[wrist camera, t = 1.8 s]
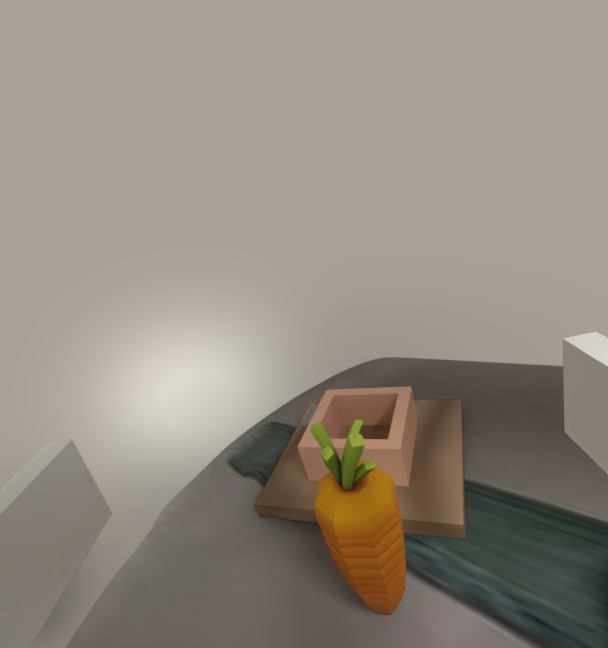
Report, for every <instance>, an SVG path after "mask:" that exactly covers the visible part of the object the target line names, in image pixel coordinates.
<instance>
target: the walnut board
mask: <svg viewBox="0 0 608 648" xmlns="http://www.w3.org/2000/svg"><path fill="white" fill-rule="evenodd" d="M414 402H415V407H416V412H417V417H418V420H417V428H416V435H415V443H414V450H413V458H412V465H411V473H410V480H409V486H395V489H396V493H397V498H398V503H399V508H400V514H401V520H402V526H403V532H404V533H413V534H422V535H431V536H440V537H448V538H457V539H466V522H465V486H464V449H463V412H462V404H461V399H443V400H414ZM319 404H320V403H310V404H309V406H308V408H307V410H306V412H305V414H304V415H303V417H302V419H301V421H300V423H299V425H298V426H297V428H296V430H295V432H294V434H293V436H292V437H291V439H290V441H289V443H288V445H287V447H286V449H285V450H284V452H283V454H282V456H281V458H280V460H279V461H278V463H277V465H276V467H275V469H274V471H273V472H272V474H271V476H270V478H269V480H268V482H267V483H266V485H265V487H264V489H263V491H262V493H261V494H260V496H259V498H258V500H257V502H256V504H255V505H256V508H257V510H258V513H259V515H260V516H262V517H271V518H280V519H289V520H298V521H307V522H315V523H318V521H317V518H316V515H315V511H314V507H315V499H316V494H317V488H318V483H319V481H315V480H308V477H307V474H306V471H305V468H304V465H303V462H302V459H301V456H300V453H299V450H298V445H299V443H300V441H301V439H302V437H303V435H304V431H303V428H302V423H303V421H304V419H305V417H306V415H307V413H308V412H309V410H310V408H311V407H318V405H319ZM351 426H352V425H342V427H341V429H340V432H339V434H338V437H337V439H347V438H348V433H349V431H350V428H351ZM390 428H391V425H362V426H361V428H360V431H359V434H361V435H362V437H363V438H364V439H388V437H389V433H390Z"/></svg>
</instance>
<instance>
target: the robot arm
mask: <svg viewBox="0 0 608 648" xmlns="http://www.w3.org/2000/svg"><path fill="white" fill-rule="evenodd" d="M563 378H564V426H565V433H566V434H567V435H568V436H569V437H570V438H571V439H572V440H573V441H574V442H575V443H576V444H577V445H578V446H579V447H580V448H581V449H582V450H583V451H584V452H585V453H587V454H588V455H589V456H590V457H591V458H592V459H593V460H594V461H595V462H596V463H597V464H598V465H599V466H600V467H601V468H602V469H603V470H604V471H605V472H606V473H607V474H608V338H607V337H605V336H603V335H601V334H599V333H597V332H592V333H587V334H582V335H577V336H572V337H567V338H563ZM111 514H112V512H111V511H110V509H109V507H108V505H107V503H106V501H105V499H104V498H103V496H102V494H101V492H100V490H99V488H98V486H97V484H96V483H95V481H94V479H93V477H92V475H91V473H90V471H89V470H88V468H87V466H86V464H85V462H84V460H83V458H82V457H81V455H80V453H79V451H78V450H77V447H76V446H75V444H74V442H73V440H72V439H70V440H65V441H60V442H56V443H51V444H47V445H46V446H45V447H44V448H43V449H42V450H41V451H40V452H39V453H38V454H37V455H36V456H35V457H34V458H33V459H32V460H31V461H30V462H29V463H28V464H27V465H25V466H24V467H23V468H22V469H21V470H20V471H19V472H18V473H17V474H16V475H15V476H14V477H13V478H12V479H11V480H10V481H9V482H8V483H7V484H6V485H5V486H4V487H3V488H2V489H1V490H0V648H30V646H31V645H32V643H33V641H34V640H35V638H36V637H37V635H38V633H39V632H40V630H41V628H42V627H43V625H44V624H45V622H46V620H47V619H48V617H49V615H50V614H51V612H52V611H53V609H54V607H55V606H56V604H57V602H58V601H59V599H60V598H61V596H62V594H63V593H64V591H65V589H66V588H67V586H68V585H69V583H70V581H71V580H72V578H73V576H74V575H75V573H76V571H77V570H78V568H79V567H80V565H81V563H82V562H83V560H84V558H85V557H86V555H87V554H88V552H89V550H90V549H91V547H92V545H93V544H94V542H95V541H96V539H97V537H98V536H99V534H100V532H101V531H102V529H103V528H104V526H105V524H106V523H107V521H108V519H109V518H110V516H111Z"/></svg>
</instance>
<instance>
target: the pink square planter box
mask: <svg viewBox="0 0 608 648" xmlns="http://www.w3.org/2000/svg"><path fill="white" fill-rule="evenodd" d="M355 420H362V421H363V423H362V425H391V428H390V433H389V437H388V439H364V443H365V446H364V449H363V452H362V455H361V458H360V460H359V461H368V460H372V461H373V462H375V465H376V467H378V468H380V469H381V470H383V471H384V472H386V473H387V474H389V475H390V476H391V478H392V479H393V481H394V484H395V486H409V480H410V473H411V465H412V458H413V450H414V443H415V435H416V428H417V420H418V417H417V412H416V407H415V402H414V397H413V392H412V387H411V386H405V387H381V388H358V389H334V390H326V392H325V394H324V396H323V398H322V400H321V402H320V404H319V405H318V407H311V408H310V410H309V412H308V413H307V415H306V417H305V419H304V421H303V423H302V428H303V431H304V435H303V437H302V439H301V441H300V443H299V445H298V450H299V453H300V456H301V459H302V462H303V465H304V468H305V471H306V474H307V477H308V480H315V481H319V480H320V479H321V478H322V477H323V476H325V475H326V474H327V473H329V472H330V471H329V469H328V468H327V467H326V465H325V463H324V461H323V459H322V456H321V452H322V451H323V450H322V448H321V447H320V445H319V443H318V442H317V441H316V439H315V438H314V436H313V434H312V433H311V431H310V429H311V427H312V426H313V424H315V423H317V422H320V424H321V425H322V426H323V427H324V429H325V431H326V432H327V434H328V436H329V438H330V440H331V442H332V444H333V446H334V448H335V450H336V452H337V454H338V456H339V458H340V460H341V459H342V455H343V450H344V446H345V443H346V441H347V439H337V437H338V434H339V432H340V429H341V427H342V425H352V424H353V422H354V421H355Z"/></svg>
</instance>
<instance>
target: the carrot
mask: <svg viewBox="0 0 608 648" xmlns="http://www.w3.org/2000/svg"><path fill="white" fill-rule="evenodd" d="M362 423H363V421H362V420H355V421H354V422H353V424H352V426H351V428H350V431H349V433H348V438H347V441H346V443H345V446H344V450H343V455H342V459H341V460H340V458H339V456H338V454H337V452H336V450H335V448H334V446H333V444H332V442H331V440H330V438H329V436H328V434H327V432H326V431H325V429H324V427H323V426H322V425H321V424H320V422H317V423H315V424H313V426H312V427H311V429H310V431H311V433H312V434H313V436H314V438H315V439H316V441H317V442H318V443H319V445H320V447H321V448H322V450H323V451H322V452H321V456H322V459H323V461H324V463H325V465H326V467H327V468H328V469H329V471H330V472H329V473H327V474H326V475H325V476H323V477H322V478H321V479H320V480H319V483H318V488H317V494H316V499H315V507H314V511H315V515H316V518H317V521H318V523H319V526H320V528H321V531H322V534H323V536H324V539H325V541H326V543H327V546H328V548H329V550H330V553H331V555H332V557H333V560H334V561H335V563H336V565H337V566H338V568H339V569H340V571H341V573H342V574H343V576H344V577H345V579H346V580H347V581H348V583H349V584H350V586H351V587H352V589H353V590H354V591H355V592H356V593H357V594H358V595H359V596H360V597H361V599H362V600H363V601H364V602H365V603H366V604H367V605H368V606H369V607H370V608H372V609H373V610H374V611H375V612H378V613H380V614H383V615H390V614H391V613H392V612H393V611H394V610H395V609H396V607H397V606H398V604H399V603H400V601H401V599H402V596H403V593H404V590H405V577H406V568H405V547H404V533H403V526H402V520H401V514H400V508H399V503H398V498H397V493H396V489H395V484H394V481H393V479H392V478H391V476H390V475H389V474H387V473H386V472H384V471H383V470H381V469H380V468H378V467H376V465H375V462H373V461H372V460H368V461H359V460H360V458H361V455H362V452H363V449H364V446H365V443H364V438H363V437H362V435H361V434H359V431H360V428H361V426H362Z"/></svg>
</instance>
